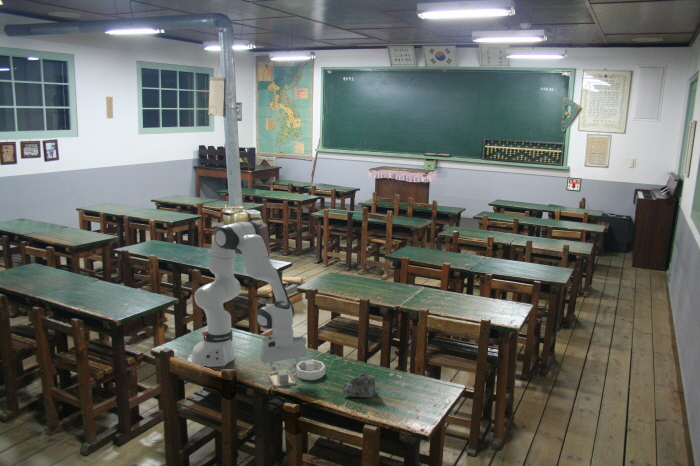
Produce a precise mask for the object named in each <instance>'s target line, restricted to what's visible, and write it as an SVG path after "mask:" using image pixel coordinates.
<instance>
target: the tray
mask: <svg viewBox="0 0 700 466" xmlns="http://www.w3.org/2000/svg"><path fill="white" fill-rule="evenodd" d="M280 371H287V373H288V375H289V383H282V384H279V383H278V381H277V372H280ZM266 375H267V378H268V380H269V381H270V383H271V385H272V388H282V387H287V386H293V385H297V381H296V379H295V378H294V376H293V375H292V372H291V371H290V370H289V369H283V370H277V371H276V370H275V371H270V372H266Z"/></svg>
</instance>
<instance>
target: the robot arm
mask: <svg viewBox="0 0 700 466" xmlns="http://www.w3.org/2000/svg"><path fill="white" fill-rule="evenodd" d="M236 249H238V250H240V252H241V254H242V259H243V265H244V268H245V271H246V273H247V275H248V276H249V277H251V278H253V279H254V280H258V281H264V282H265V283H268V285H270V288H271V290H272V293H273V295H274V298H275V302H274V303H272V304H270V305H266V306H262V307H260V308H259V309H257V311H256V315H255V318H256V319H255V320H256V323H257V325H258V326H259V327H260V328H262V329H264V330H272V334H269V335H267V336H266V337H265V336H264V338H262V341H261V342H262V345H261V347H260V355H259V358H260V361H261V362H262V363H263V364H269V365H270V369H271V372H275V371H276V369H277V368H276V365H273V363H274V362H279V361H286V360H287V361H288V360H292V359H294V361H293V362H291V364H292V365H291V366H292V368H296V367H297V364H298V362H299V360H300V358H305V357H306V356H307V355H308V354H307V351H308V350H307V346H306V345H307V338H306V337H305V336H303V335H300V336H294V328H293V324H294V317H295V307H294V306H293V303H292V302H291V300H290V297H289V295H288V293H287V290H286V288H285V284H284V282H283V279H282V277H281V274H280V272H279V271H278V269H277V268H276V267H274V265H273V264H272V263H271V260H270V258H269V254H268V252H269V251H268V250H267V247H266V244H265V241H264V239H263V237H262V236H261V230H260V227H259V225H258V224H257V223H256V222H255V221H249V220H246V221H238V222H237V221H235V222H232V223H229V224H224V225H221V226H219V227H218V228H217V229H216V230H215V232H214V237H213V240H212V243H211V246H210V254H209V263H208V264H209V265H208V269H209V271H210V272H211V274H213V275H214V281H212V282H209V283H206V284H204V285H202V286H201V287H199V288H198V289H197V290H195V292H194V301H195V304H196V305H197V306H198V307H199V308H201V309H202V310H203V311H204V313H205V317H206V323H207V330H202V331H201V336H203V339H202V340H200V341H199V342H198V343H197V344H195V345H194V347H193V349H192V353H191V354H190V355H188V357H187V362H188V361H190V362H192V363H196V364H199V365H203V366H207V367H206V368H213V367H225V366H227V365H228V364H229V363H231V362H233V361H234V360H235V359H236V354H235V351H234V345H233V339H234V338H233V336H234V335H233V334H234V333H233V330H232V315H231V313H230V312H229V311H227V310H225V308H224V303H226V302H229V301H231V300H233V299H235V298H236V297H237V296H239V294H241V291H242V285H241V283H240V281H239V280H238V279H237V278H236V277H235V274H234V265H235V263H234V262H235V257H236V256H235V255H236Z"/></svg>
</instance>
